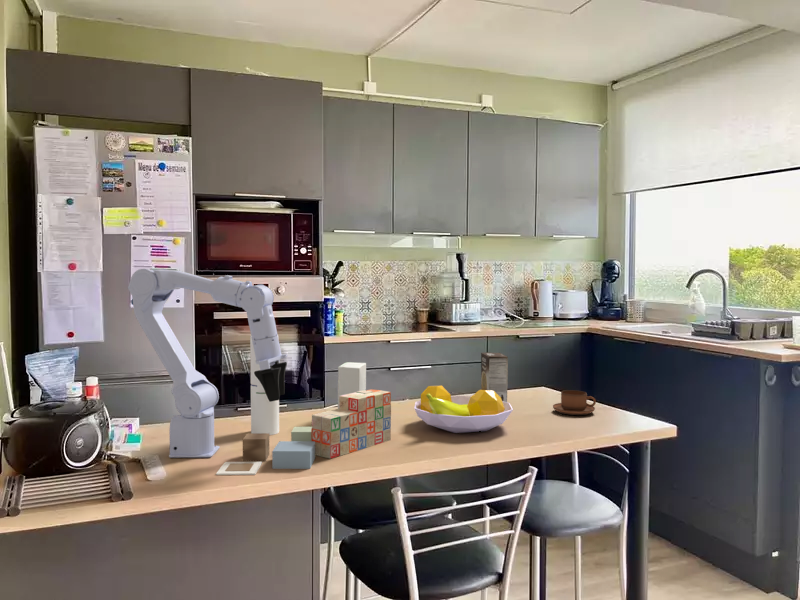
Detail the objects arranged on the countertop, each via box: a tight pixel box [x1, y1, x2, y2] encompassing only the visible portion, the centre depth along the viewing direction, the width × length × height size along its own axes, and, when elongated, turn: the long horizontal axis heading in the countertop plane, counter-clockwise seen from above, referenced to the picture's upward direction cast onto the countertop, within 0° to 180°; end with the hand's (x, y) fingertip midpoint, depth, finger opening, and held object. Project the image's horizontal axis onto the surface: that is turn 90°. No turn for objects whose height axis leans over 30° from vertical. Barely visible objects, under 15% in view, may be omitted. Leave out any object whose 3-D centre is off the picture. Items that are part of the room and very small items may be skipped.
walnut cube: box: [242, 432, 270, 462], centre depth 145 cm, size 5×5×5 cm
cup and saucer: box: [552, 389, 597, 416], centre depth 192 cm, size 12×12×6 cm
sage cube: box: [290, 426, 312, 441], centre depth 152 cm, size 5×5×5 cm
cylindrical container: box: [249, 334, 280, 436], centre depth 168 cm, size 7×7×25 cm
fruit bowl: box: [413, 384, 514, 434], centre depth 174 cm, size 28×27×11 cm
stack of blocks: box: [311, 388, 392, 460], centre depth 155 cm, size 21×6×12 cm, turn 142°
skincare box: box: [337, 361, 367, 409], centre depth 183 cm, size 8×7×16 cm
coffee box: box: [480, 351, 509, 403], centre depth 201 cm, size 9×6×16 cm
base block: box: [271, 440, 316, 470], centre depth 142 cm, size 8×8×4 cm
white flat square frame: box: [215, 461, 263, 476], centre depth 138 cm, size 8×8×1 cm
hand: (277, 398), depth 145 cm, fingers open, 7 cm apart
